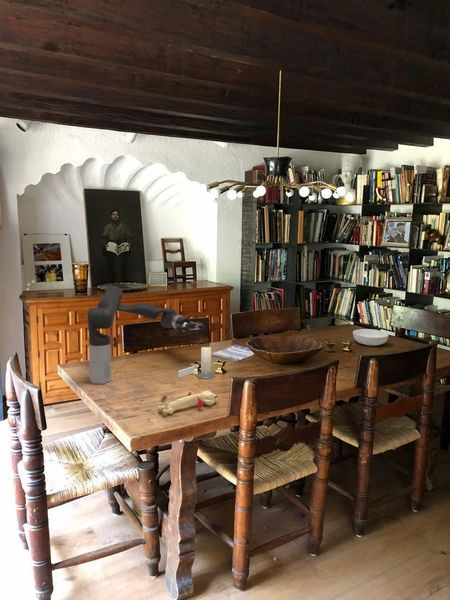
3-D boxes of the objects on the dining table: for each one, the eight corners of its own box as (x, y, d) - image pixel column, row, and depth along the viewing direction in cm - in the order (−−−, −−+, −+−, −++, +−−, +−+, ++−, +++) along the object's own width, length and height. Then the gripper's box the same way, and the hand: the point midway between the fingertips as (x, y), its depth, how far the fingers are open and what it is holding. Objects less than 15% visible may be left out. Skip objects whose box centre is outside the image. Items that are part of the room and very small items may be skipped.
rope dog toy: (168, 422, 181) (223, 404, 195) (166, 400, 179) (222, 383, 193) (155, 413, 189) (209, 396, 203) (154, 392, 187) (208, 376, 201)
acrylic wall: (208, 367, 242) (208, 362, 242) (179, 377, 227) (179, 371, 226) (207, 367, 243) (207, 361, 242) (178, 377, 227) (178, 370, 227)
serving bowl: (347, 339, 306) (347, 328, 305) (379, 339, 308) (380, 328, 307) (359, 348, 286) (360, 337, 285) (393, 348, 288) (394, 337, 287)
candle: (210, 376, 228) (211, 347, 225) (200, 376, 228) (201, 347, 225) (210, 373, 232) (211, 345, 230) (201, 373, 232) (201, 344, 230)
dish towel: (210, 356, 263) (210, 351, 262) (235, 348, 281) (235, 343, 281) (236, 363, 253) (236, 358, 252) (261, 353, 271) (261, 349, 271)
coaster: (215, 379, 225) (215, 378, 225) (195, 379, 225) (195, 377, 225) (215, 373, 234) (215, 372, 234) (196, 372, 234) (196, 371, 234)
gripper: (193, 329, 254) (209, 335, 240) (168, 331, 247) (183, 338, 233) (194, 315, 253) (209, 320, 239) (168, 317, 246) (183, 323, 232)
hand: (196, 329), depth 236 cm, fingers open, 8 cm apart
